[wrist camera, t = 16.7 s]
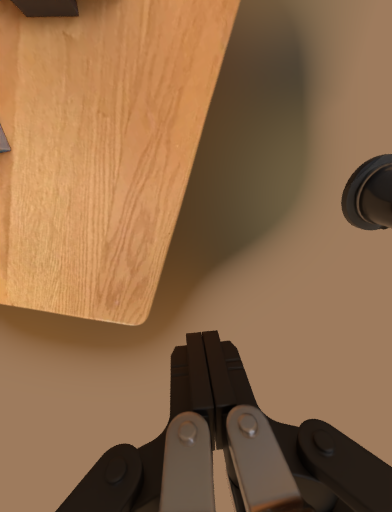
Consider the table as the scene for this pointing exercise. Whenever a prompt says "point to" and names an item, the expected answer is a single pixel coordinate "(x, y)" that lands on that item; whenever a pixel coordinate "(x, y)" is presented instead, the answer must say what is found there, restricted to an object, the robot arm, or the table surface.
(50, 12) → the storage box
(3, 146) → the medicine box
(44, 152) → the table surface
